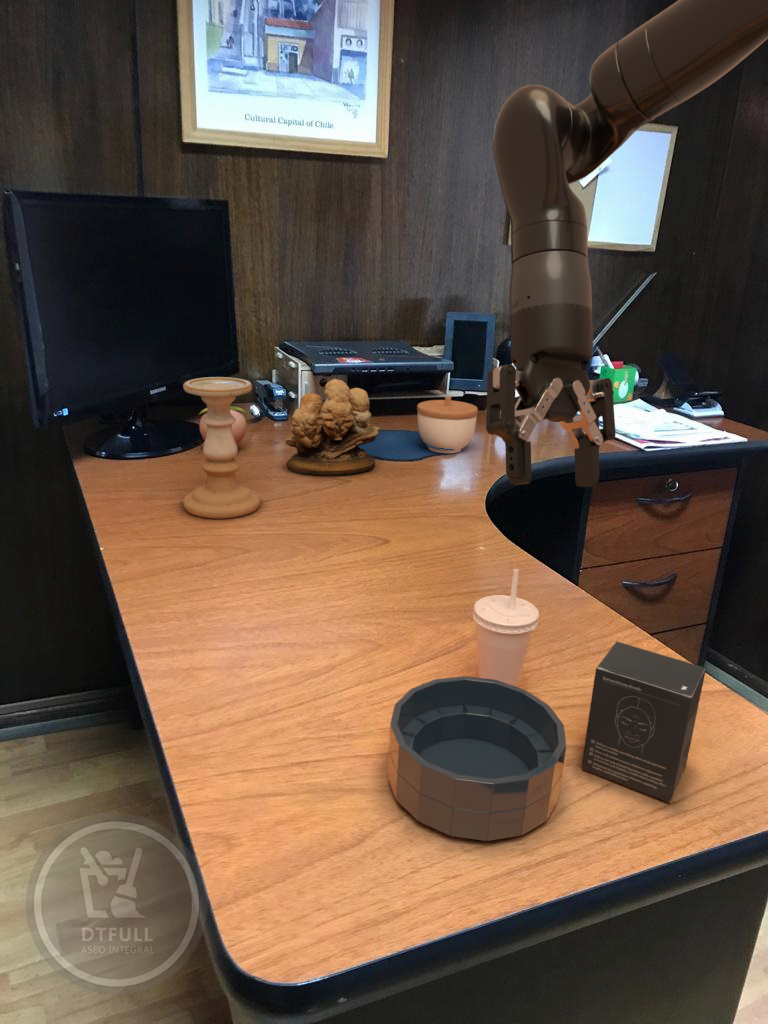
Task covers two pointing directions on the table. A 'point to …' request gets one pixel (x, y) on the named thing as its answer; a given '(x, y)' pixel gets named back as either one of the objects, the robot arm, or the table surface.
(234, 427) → the decorative fruit
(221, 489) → the candle holder
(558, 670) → the table surface
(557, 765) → the bowl
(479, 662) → the smoothie
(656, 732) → the box
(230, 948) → the table surface
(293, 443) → the owl figurine
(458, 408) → the lidded bowl
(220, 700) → the table surface
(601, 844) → the table surface
